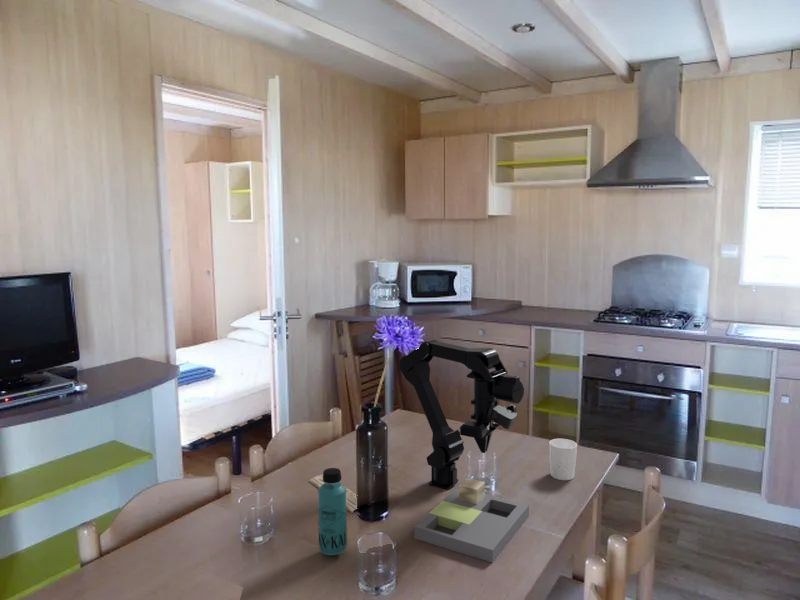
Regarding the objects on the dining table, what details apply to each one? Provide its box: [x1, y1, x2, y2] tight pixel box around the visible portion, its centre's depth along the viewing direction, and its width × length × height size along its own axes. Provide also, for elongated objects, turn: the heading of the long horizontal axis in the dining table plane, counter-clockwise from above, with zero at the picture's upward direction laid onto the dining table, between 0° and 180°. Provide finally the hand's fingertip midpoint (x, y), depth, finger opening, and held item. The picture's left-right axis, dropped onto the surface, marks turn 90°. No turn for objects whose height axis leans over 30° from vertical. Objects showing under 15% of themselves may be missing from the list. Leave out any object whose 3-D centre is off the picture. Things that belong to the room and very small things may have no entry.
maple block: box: [459, 477, 486, 504], centre depth 153 cm, size 5×5×4 cm
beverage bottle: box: [317, 467, 348, 556], centre depth 133 cm, size 6×7×20 cm
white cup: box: [548, 438, 578, 481], centre depth 173 cm, size 8×8×10 cm
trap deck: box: [413, 487, 530, 564], centre depth 145 cm, size 20×24×3 cm
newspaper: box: [309, 474, 358, 514], centre depth 164 cm, size 24×7×2 cm, turn 36°
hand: (484, 452), depth 159 cm, fingers closed
